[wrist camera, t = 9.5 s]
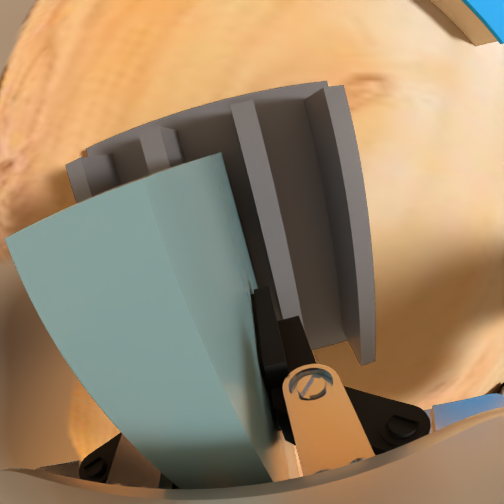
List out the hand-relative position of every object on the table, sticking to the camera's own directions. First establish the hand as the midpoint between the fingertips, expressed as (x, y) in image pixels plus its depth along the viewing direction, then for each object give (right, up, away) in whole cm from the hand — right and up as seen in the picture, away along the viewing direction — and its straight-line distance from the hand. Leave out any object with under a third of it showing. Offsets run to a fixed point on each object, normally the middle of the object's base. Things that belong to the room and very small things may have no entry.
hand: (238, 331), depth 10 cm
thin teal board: (0, +2, +6) cm, 6 cm away
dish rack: (0, +3, +9) cm, 9 cm away
